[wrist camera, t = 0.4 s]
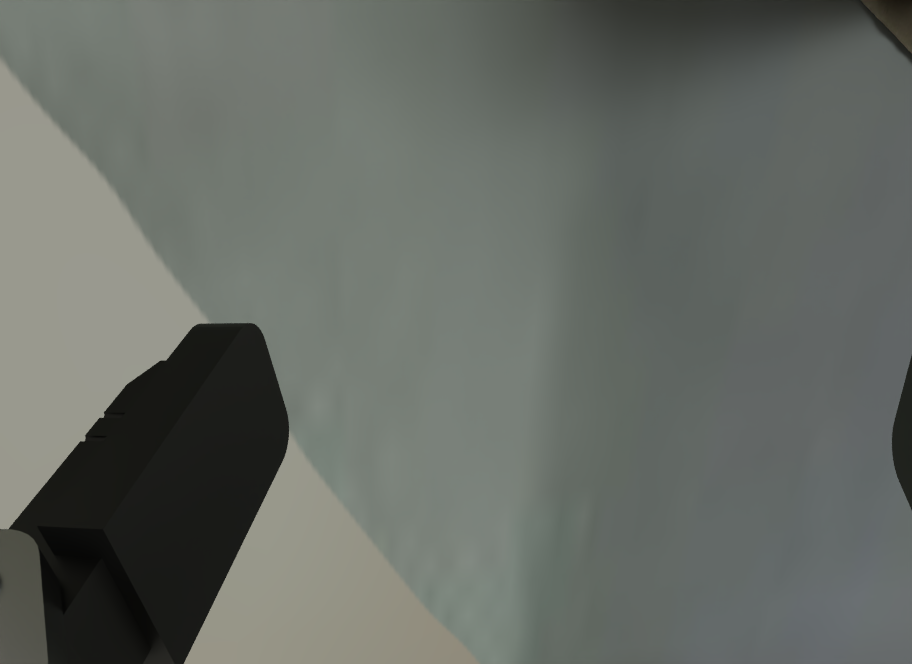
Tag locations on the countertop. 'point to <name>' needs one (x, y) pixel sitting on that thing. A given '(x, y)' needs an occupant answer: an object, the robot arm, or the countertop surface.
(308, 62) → the countertop surface
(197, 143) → the countertop surface
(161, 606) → the robot arm
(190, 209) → the countertop surface
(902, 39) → the condiment
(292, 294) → the countertop surface
